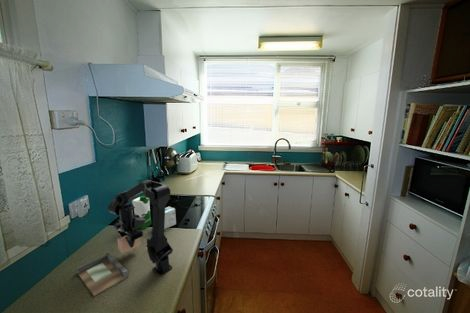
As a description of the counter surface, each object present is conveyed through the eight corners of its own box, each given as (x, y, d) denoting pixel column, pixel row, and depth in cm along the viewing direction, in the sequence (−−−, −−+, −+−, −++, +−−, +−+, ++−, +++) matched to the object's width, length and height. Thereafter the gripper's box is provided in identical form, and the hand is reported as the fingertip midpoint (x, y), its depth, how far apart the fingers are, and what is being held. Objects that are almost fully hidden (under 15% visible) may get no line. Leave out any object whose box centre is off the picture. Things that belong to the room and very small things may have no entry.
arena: (128, 276, 91) (127, 270, 90) (94, 296, 81) (93, 289, 80) (109, 258, 103) (108, 252, 103) (77, 273, 93) (76, 267, 93)
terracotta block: (140, 244, 107) (139, 234, 106) (122, 253, 101) (121, 242, 99) (136, 241, 110) (135, 231, 109) (118, 250, 103) (117, 239, 102)
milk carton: (143, 230, 129) (140, 199, 125) (132, 227, 132) (129, 197, 129) (153, 223, 137) (151, 194, 133) (143, 221, 140) (140, 192, 137)
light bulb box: (170, 221, 140) (169, 205, 139) (176, 224, 136) (175, 208, 134) (155, 227, 132) (154, 211, 130) (161, 230, 128) (160, 214, 126)
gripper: (152, 215, 103) (154, 244, 106) (133, 206, 114) (136, 232, 117) (129, 224, 94) (132, 256, 97) (111, 213, 106) (115, 241, 109)
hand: (129, 245), depth 105 cm, fingers closed on terracotta block, 4 cm apart
